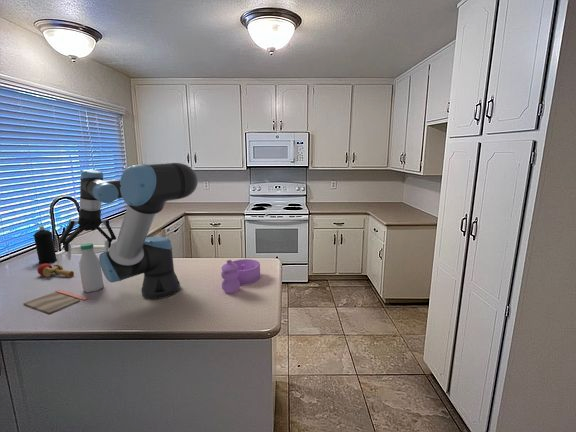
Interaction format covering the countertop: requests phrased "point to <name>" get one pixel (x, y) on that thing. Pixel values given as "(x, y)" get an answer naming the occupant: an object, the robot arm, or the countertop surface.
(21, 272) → the countertop surface
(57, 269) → the kendama
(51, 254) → the aerosol can
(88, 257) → the milk bottle
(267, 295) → the countertop surface
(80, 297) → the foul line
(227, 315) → the countertop surface
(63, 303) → the board
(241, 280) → the container set
